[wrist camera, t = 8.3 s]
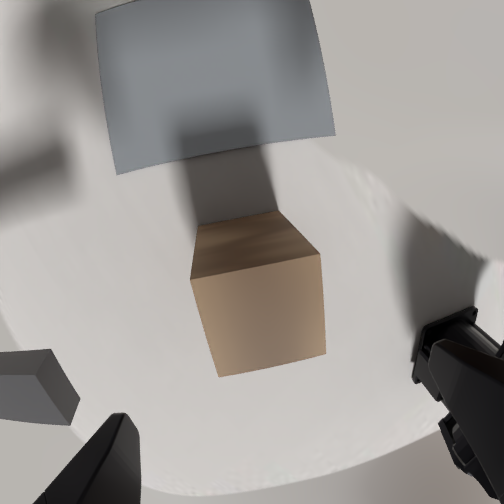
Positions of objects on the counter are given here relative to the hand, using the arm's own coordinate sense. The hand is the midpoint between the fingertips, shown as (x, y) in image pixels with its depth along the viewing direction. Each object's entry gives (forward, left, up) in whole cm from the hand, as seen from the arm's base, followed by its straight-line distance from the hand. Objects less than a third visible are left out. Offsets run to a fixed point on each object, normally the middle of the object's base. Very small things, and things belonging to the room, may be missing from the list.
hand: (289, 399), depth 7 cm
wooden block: (0, 0, -11) cm, 11 cm away
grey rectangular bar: (+13, 0, -2) cm, 14 cm away
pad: (0, -11, -11) cm, 15 cm away
